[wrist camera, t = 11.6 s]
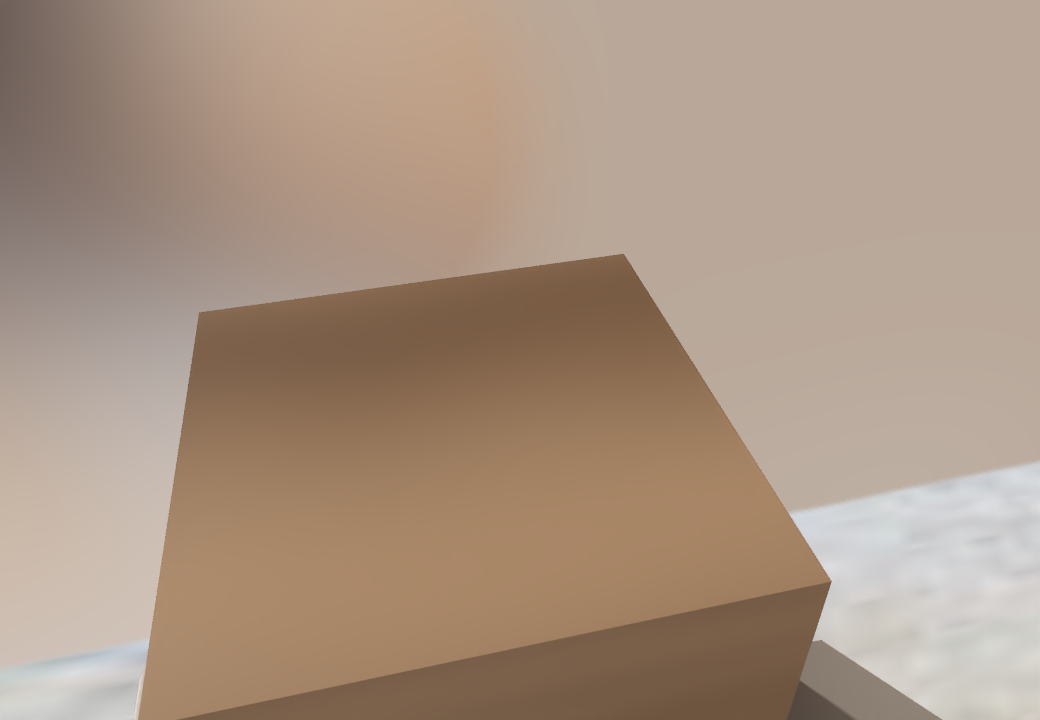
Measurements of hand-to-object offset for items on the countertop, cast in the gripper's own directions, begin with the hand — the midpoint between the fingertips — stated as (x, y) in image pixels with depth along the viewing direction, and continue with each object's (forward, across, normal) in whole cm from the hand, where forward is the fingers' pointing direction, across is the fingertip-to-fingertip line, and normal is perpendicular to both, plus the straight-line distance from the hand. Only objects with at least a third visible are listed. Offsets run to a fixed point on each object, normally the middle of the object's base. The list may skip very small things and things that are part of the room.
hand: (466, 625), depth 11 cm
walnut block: (-1, 0, +6) cm, 6 cm away
